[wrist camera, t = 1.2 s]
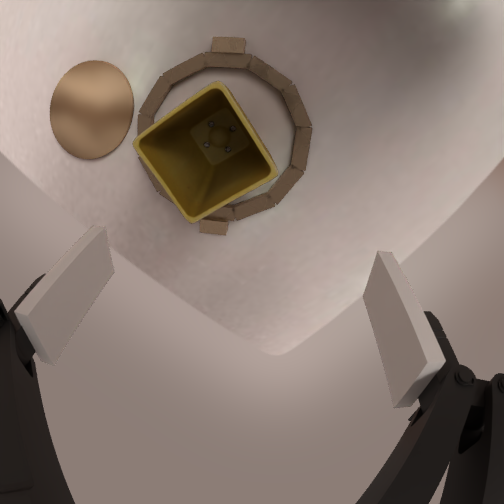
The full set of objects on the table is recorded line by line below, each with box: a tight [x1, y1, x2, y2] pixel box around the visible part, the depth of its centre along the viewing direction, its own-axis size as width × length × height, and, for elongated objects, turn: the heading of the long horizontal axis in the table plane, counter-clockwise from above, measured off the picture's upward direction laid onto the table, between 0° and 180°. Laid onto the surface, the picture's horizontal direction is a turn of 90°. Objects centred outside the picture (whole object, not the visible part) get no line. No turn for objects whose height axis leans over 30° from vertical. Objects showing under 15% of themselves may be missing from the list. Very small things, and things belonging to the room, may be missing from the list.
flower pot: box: [133, 81, 278, 224], centre depth 26 cm, size 9×9×9 cm
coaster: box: [50, 61, 134, 159], centre depth 28 cm, size 12×12×1 cm
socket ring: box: [138, 37, 312, 235], centre depth 29 cm, size 21×18×2 cm
